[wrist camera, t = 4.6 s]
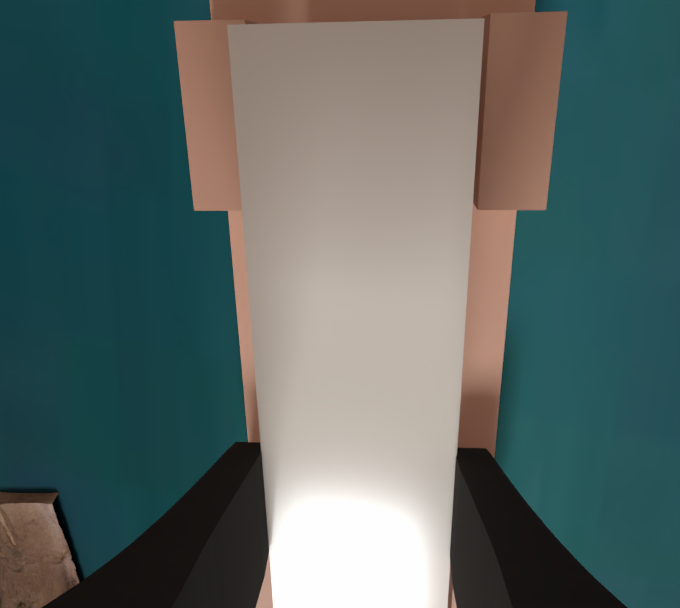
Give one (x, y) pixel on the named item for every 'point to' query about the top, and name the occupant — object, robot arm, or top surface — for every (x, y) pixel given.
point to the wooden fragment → (32, 552)
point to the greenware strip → (358, 295)
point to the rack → (490, 168)
